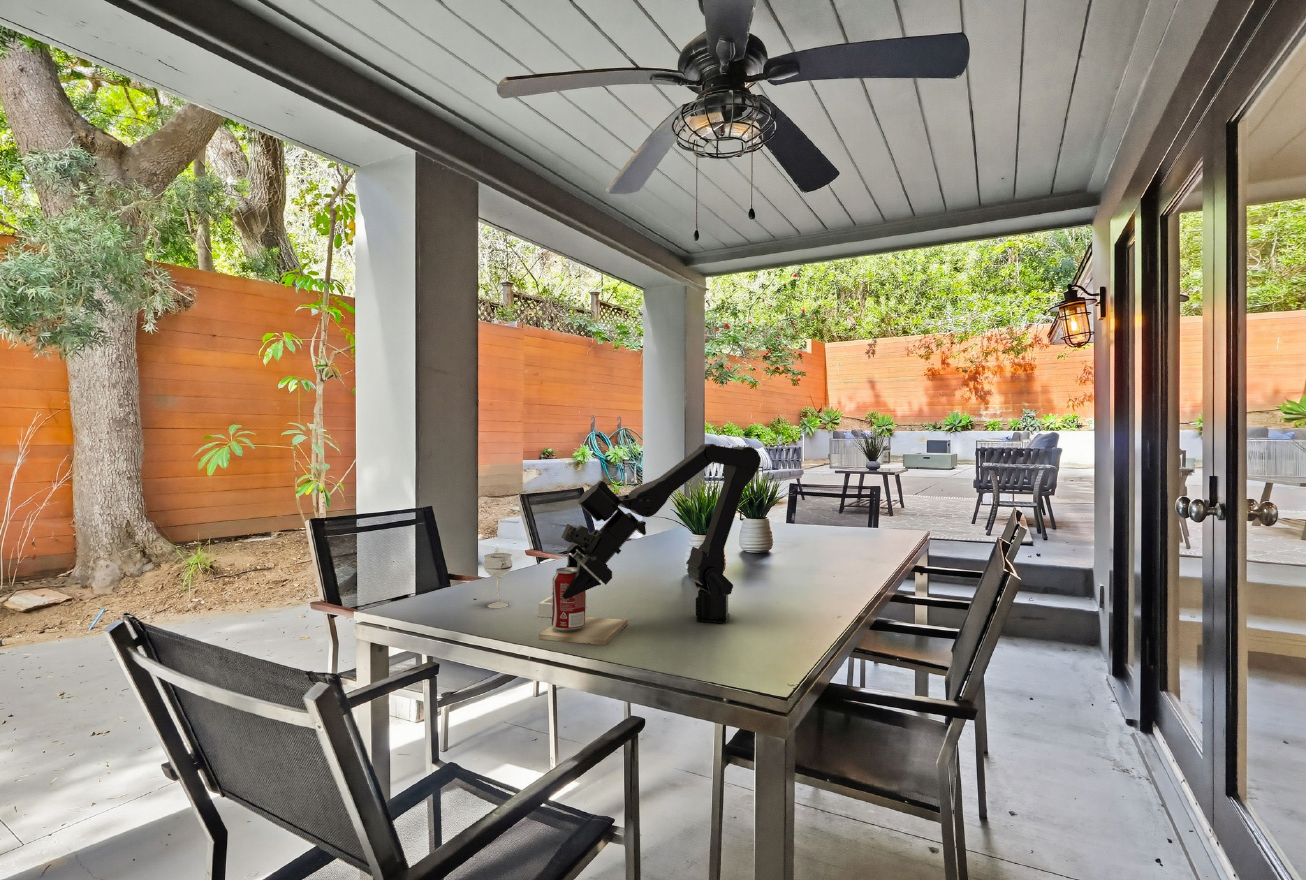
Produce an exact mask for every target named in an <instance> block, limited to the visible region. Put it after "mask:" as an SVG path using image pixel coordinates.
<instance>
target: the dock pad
mask: <svg viewBox="0 0 1306 880" xmlns="http://www.w3.org/2000/svg"><path fill="white" fill-rule="evenodd" d="M627 624H628V619H621V618H619V619H617V618H608V617H607V618H604V617H594V616H593V617H591V616H585V626H584V627H582V628H580V629H579V630H577V631H573V632H562V631H558V630H556V629H555V628H553V627H552V625H550V626H549V627H548V628H545V630H543V631H542V632H540V633H539V634H538V639H539V640H545V641H555V642H556V641H557V642H566V643H578V644H588V643H591V644H590V645H599V646H600V645H601V646H606V645H608V643H610V641H611V640H612V639H614V638H615V637H616V636H617V635H618V634H619V633H620V632H622V630H624V629H625V628H626V627H627V626H628V625H629V624H628V625H627ZM626 625H627V626H626ZM625 626H626V627H625ZM624 627H625V628H624ZM616 634H617V635H616ZM614 636H615V637H614Z"/></svg>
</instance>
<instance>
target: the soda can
mask: <svg viewBox="0 0 1306 880" xmlns="http://www.w3.org/2000/svg"><path fill="white" fill-rule="evenodd" d="M576 574H577V568H575V567H559V568H556V569H555V574H554V576H553V578H552V587H551V589H552V590H551V591H552V595H551V596H552V618H551V626H552V627H553V628H555V629H556V630H558V631H562V632H573V631H577V630H579V629H580V628H582V627H584V626H585V617H586V607H585V596H586V597H587V593H586V592H587V590H586V591H584V592H581V593H579V594H577V595H575V596H573V597H570V598H568V599H564V598H563V597H562V595H563V593H564V592H565V590H566V588H567V587H568V586H569V584H570V583H571V581H572V580H573V578H574V577H575V575H576Z"/></svg>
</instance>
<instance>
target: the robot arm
mask: <svg viewBox="0 0 1306 880" xmlns="http://www.w3.org/2000/svg"><path fill="white" fill-rule="evenodd" d="M761 461H762V457H761V456H760V454H759V452H758V450H757V449H756V448H754V447H751V446H733V447H729V446H728V447H727V446H721V445H717V444H715V443H702V444H700V446H698V448H697V449H696V450H694V451H693V452H691V453H690V454H689V455H688V456H686V457H685V458H684V459H683V460H681V461H680V462H678V463H677V464H675V465H674V466H673V467H671V468H670V469H669V470H667V471H666V472H665V473H663V474H662V475H661V476H659V477H658V478H656V479H652V480H651V481H647V482H645V483H643V484H642V485H640V486H638V487H635V488H634V489H632V490H631V491H630V492H628V494H623V495H617V494H616V493H614V492H613V490H611V489H610V487H609V486H608V484H606V482H605V481H604V480H598V482H597V483H596V484H594V485H592V486H591V487H590V488H588V489H586V490H585V491H584V492H583V493H582V494H581V495H580V497H579V499H578V500H577V504H579V506H581V508H582V509H584V511H586V512H587V514H589V515H590V516H591V517H592V518H593V519H594V520H595V521H596V522H600V521H602V522H605V523H604V525H602V527H601V528H600V529H594V530H592V532H590V531H589V530H590V529H589V528H588V527H586V526H583V525H582V524H580V525H579V526H578V527H577V526H574V525H572V524H569V523H566V526H565V528H564V530H563V533H562V536H561V539H563V540H564V541H565V542H567V543H569V544H570V545H569V546H568V547H567V548H566V550H567V551H568V552H567V553H566V556H567V564H566V567H575V568H577V574H576V575H575V577H574V578H573V580H572V581H571V583H570V584H569V586H568V587H567V588H566V590H565V592H564V593H563V595H562V597H563V598H564V599H568V598H570V597H573V596H575V595H577V594H579V593H581V592H584V591H586V592H587V590H591V589H593V588H595V587H597V586H599V587H600V586H601V585H602V583H603V584H604V585H605V586H607V584H608V583H609V582H610V581H611V580H612V579H613V571H612V570H611V568H609V567H608V564H607V563H608V562H609V561H610V559H611V558H613V557H614V555H615V554H617V555H619V554H620V553H621V552H622V549H621V547H623V545H624V544H625V543H626V542H627V541H628V540H629V539H630V537H631V536H632V535H633V534H634V533H635V532H637V533H639V534H640V535H643V536H646V535H647V531H646V529H647V528H646V524H647V523H646V521H644V520H638V519H637V517H635V515H638V516H640V517H643V518H650V517H653V516H654V515H656V514H657V513H658V512H659V510H661V509H662V507H663V506H664V505H665V504H666V503H667V502H668V500H669V498H670V497H671V495H672V494H673V493H674V492H675V491H676V490H678V489H680V487H682V486H683V485H685V484H686V483H687V482H689V481H690V480H691V479H692V478H694V477H695V476H696V475H698V474H699V473H700V472H701V471H703V470H704V469H706V468H707V467H708V466H710V465H711V464H712V463H714V464H719V465H723V468H722V473H723V484H722V487H721V491H720V493H719V496H718V499H717V502H716V504H715V508H714V510H713V514H712V516H711V519H710V522H709V526H708V528H707V532H706V534H705V537H704V541H703V542H702V543H701V545H700V546H699V547H698V548H697V547H695V546H692V547H691V549H690V554H689V557H688V559H687V561H686V563H685V564H686V565H687V569H686V571H687V572H686V573H687V575H688V577H689V578H690V579H691V580H692V581H694V585H695V587H696V588H697V589H698V591H697V596H696V597H695V617H696V618H695V619H696V622H701V623H703V622H704V623H715V624H717V623H718V624H726V623H727V622H728V620H729V618H730V616H731V613H729V595H731V594H732V591H733V589H734V584H733V583H732V582H731V581H730V580H729V579H728V578H727V577H726V576H725V575H724V571H725V565H726V562H725V547H726V544H727V541H728V537H729V535H730V531H731V528H732V526H733V523H734V520H735V517H736V514H737V511H738V508H739V504H740V502H741V498H742V495H743V494H744V493H743V492H744V490H745V488H746V487H747V486H748V484H750V483H751V481H752V480H753V479H754V477H755V475H756V473H757V471H758V469H759V468H760V466H761ZM620 507H621V508H624V509H626V510H629V511H630V512H626V513H625V512H624V511H623V510H622V509H621V508H620ZM633 514H635V515H633ZM600 581H601V582H602V583H601V582H600Z"/></svg>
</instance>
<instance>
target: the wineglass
mask: <svg viewBox="0 0 1306 880" xmlns="http://www.w3.org/2000/svg"><path fill="white" fill-rule="evenodd" d="M512 556H513V554H512V553H506V552H505V553H504V552H496V553H495V552H494V553H489V554H488V553H487V554H484V555H483V559H484V560H483V570H484V571H485V573H487V574H488V576H490V577H493V578H494V579H495V580H496V581H495V582H496V598H497V599H496V602H493V603H490V604H488V605H487V607H488V608H490V609H501V608H507V607H508V606H509V605H508V603H506V602H501V601H500V583H501V582H500V581H501V579H502V577H504V576H507V574H508V573H509V572H510V571H511V570H512V567H513V560H512V559H511V558H512ZM506 606H507V607H506Z"/></svg>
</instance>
